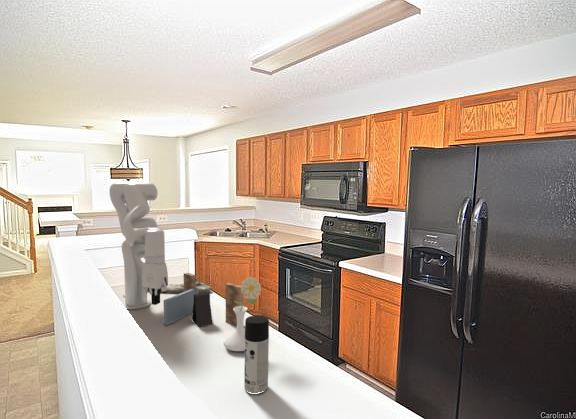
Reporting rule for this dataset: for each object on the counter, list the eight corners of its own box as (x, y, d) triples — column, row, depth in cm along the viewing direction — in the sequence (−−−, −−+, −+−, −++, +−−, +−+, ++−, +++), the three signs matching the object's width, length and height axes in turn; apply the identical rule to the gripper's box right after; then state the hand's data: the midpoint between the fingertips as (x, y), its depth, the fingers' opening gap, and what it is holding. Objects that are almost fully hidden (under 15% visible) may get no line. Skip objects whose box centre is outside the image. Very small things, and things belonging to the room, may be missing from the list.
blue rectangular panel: (196, 308, 156) (196, 287, 155) (199, 309, 155) (199, 287, 154) (163, 324, 138) (163, 300, 137) (167, 325, 137) (166, 300, 137)
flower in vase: (225, 356, 114) (225, 283, 112) (222, 341, 125) (222, 274, 123) (263, 352, 118) (264, 280, 116) (257, 337, 129) (258, 272, 127)
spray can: (244, 381, 100) (245, 314, 98) (268, 381, 100) (268, 314, 99) (243, 395, 93) (244, 324, 92) (268, 395, 94) (269, 323, 92)
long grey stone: (151, 289, 189) (142, 296, 179) (150, 280, 188) (141, 287, 178) (213, 288, 187) (208, 295, 177) (213, 279, 186) (207, 285, 176)
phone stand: (212, 324, 140) (212, 295, 139) (197, 327, 137) (197, 298, 136) (205, 316, 148) (205, 289, 147) (191, 319, 145) (191, 291, 144)
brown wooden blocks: (183, 307, 158) (183, 273, 157) (187, 306, 160) (187, 272, 159) (239, 326, 138) (239, 287, 137) (243, 324, 140) (243, 286, 139)
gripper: (133, 259, 139) (134, 304, 140) (163, 263, 134) (164, 309, 135) (147, 256, 146) (148, 298, 147) (176, 259, 140) (176, 303, 142)
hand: (155, 303), depth 141 cm, fingers closed
